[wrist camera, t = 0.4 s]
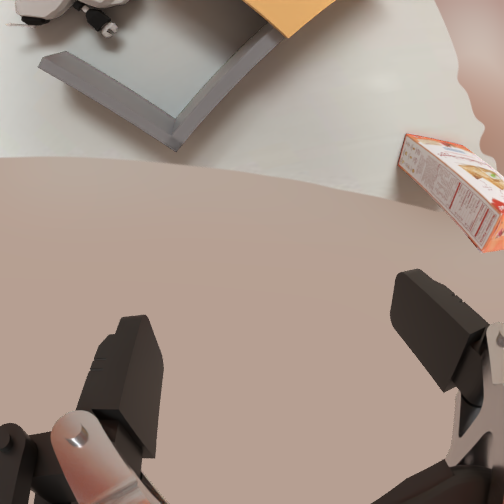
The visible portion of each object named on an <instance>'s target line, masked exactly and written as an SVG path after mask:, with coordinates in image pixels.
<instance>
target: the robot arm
mask: <svg viewBox="0 0 504 504" xmlns="http://www.w3.org/2000/svg"><path fill="white" fill-rule="evenodd" d="M390 318H391V322H392V325H393V327H394V329H395V330H396V331H397V333H398V334H399V335H400V336H401V338H402V339H403V340H404V341H405V343H406V344H407V345H408V346H409V348H410V349H411V350H412V352H413V353H414V354H415V355H416V357H417V358H418V359H419V361H420V362H421V363H422V365H423V366H424V367H425V368H426V370H427V371H428V372H429V374H430V375H431V376H432V378H433V379H434V380H435V382H436V383H437V385H438V386H439V387H440V389H441V390H442V391H443V392H446V391H448V390H450V389H452V388H454V387H457V388H458V389H459V391H458V392H457V394H456V399H455V414H454V425H453V426H454V427H453V435H452V442H451V447H450V449H449V452H448V454H447V456H446V458H445V459H444V460H442V461H440V462H438V463H436V464H435V465H433V466H431V467H429V468H427V469H425V470H423V471H421V472H419V473H417V474H415V475H413V476H411V477H409V478H407V479H405V480H404V481H403V482H402V483H400V484H399V485H397V486H396V487H395V488H393V489H392V490H391V491H389V492H388V493H386V494H385V495H384V496H382V497H381V498H379V499H378V500H376V501H375V502H373V503H371V504H504V323H494V324H491V325H490V324H488V323H487V322H486V321H485V320H484V319H483V318H482V317H481V316H480V315H479V314H477V313H476V312H475V311H474V310H473V309H472V308H471V307H470V306H468V305H467V304H466V303H465V302H462V299H460V298H459V297H458V296H457V295H456V296H455V294H454V293H453V292H452V291H451V290H450V289H449V288H447V287H446V286H445V285H443V284H440V283H438V282H436V281H434V280H433V279H432V278H430V277H429V276H428V275H426V274H425V273H424V272H423V271H422V270H420V269H414V270H409V271H405V272H401V273H399V274H398V275H397V277H396V279H395V286H394V293H393V299H392V305H391V310H390ZM90 370H91V371H89V373H88V376H87V379H86V381H85V384H84V387H83V390H82V393H81V396H80V399H79V402H78V405H77V408H76V410H75V411H72V412H69V413H67V414H65V415H64V416H62V417H60V418H59V419H58V420H57V421H56V423H55V424H54V426H53V428H52V431H51V432H46V433H41V434H34V435H27V434H26V432H25V431H23V429H22V428H21V427H20V426H18V425H17V424H14V423H7V424H4V425H2V426H0V504H28V500H29V494H30V490H32V491H33V492H35V499H34V504H169V503H168V502H167V500H166V499H165V498H164V497H163V496H162V495H161V494H160V492H159V491H158V490H157V489H156V488H155V486H154V485H153V484H152V483H151V481H150V480H149V479H148V478H147V476H146V475H145V474H144V473H143V471H142V470H141V463H142V458H155V452H156V439H157V427H158V416H159V406H160V396H161V387H162V379H163V371H164V367H163V359H162V354H161V351H160V349H159V346H158V343H157V341H156V338H155V335H154V333H153V330H152V327H151V324H150V321H149V319H148V317H147V316H146V315H138V316H129V317H122V318H121V320H120V322H119V325H118V328H117V330H116V333H115V334H111V335H108V336H107V338H106V339H105V340H104V341H103V342H102V343H101V344H100V345H99V347H98V349H97V352H96V354H95V357H94V361H93V362H92V365H91V368H90Z"/></svg>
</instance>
